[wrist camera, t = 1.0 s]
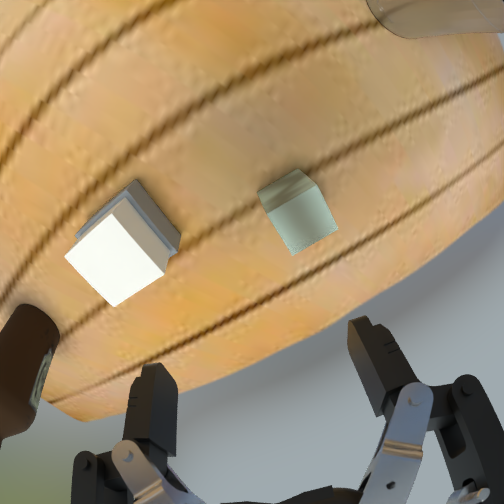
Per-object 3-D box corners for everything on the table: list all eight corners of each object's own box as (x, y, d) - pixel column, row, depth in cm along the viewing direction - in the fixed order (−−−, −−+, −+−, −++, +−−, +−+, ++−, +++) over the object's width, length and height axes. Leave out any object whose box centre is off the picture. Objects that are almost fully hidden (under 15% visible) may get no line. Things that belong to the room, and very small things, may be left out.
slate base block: (136, 177, 27) (126, 189, 23) (181, 234, 30) (177, 252, 27) (88, 219, 28) (74, 235, 24) (131, 268, 32) (123, 288, 28)
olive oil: (10, 324, 34) (-40, 438, 12) (16, 289, 30) (-54, 421, 9) (56, 355, 38) (21, 476, 17) (69, 325, 35) (22, 472, 13)
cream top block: (125, 196, 23) (111, 213, 20) (170, 251, 27) (164, 274, 23) (80, 236, 25) (64, 256, 21) (123, 283, 28) (113, 307, 25)
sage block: (297, 168, 28) (317, 184, 23) (317, 205, 30) (338, 229, 25) (256, 192, 29) (266, 214, 24) (279, 228, 31) (292, 255, 26)
